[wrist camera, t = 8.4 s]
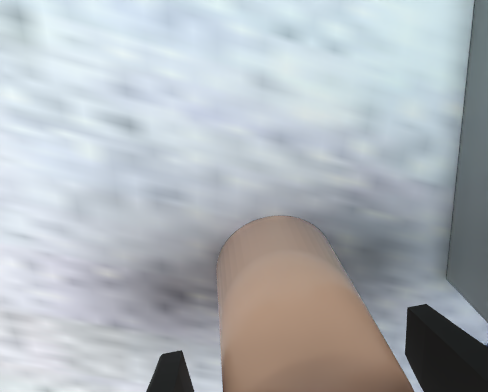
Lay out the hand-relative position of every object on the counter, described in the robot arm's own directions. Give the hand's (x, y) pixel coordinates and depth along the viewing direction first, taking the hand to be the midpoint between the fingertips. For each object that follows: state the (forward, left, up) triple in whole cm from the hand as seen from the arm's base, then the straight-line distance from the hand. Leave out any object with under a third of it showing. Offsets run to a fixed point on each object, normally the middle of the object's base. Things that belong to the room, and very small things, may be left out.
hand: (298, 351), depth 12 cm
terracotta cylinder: (0, 0, -5) cm, 5 cm away
